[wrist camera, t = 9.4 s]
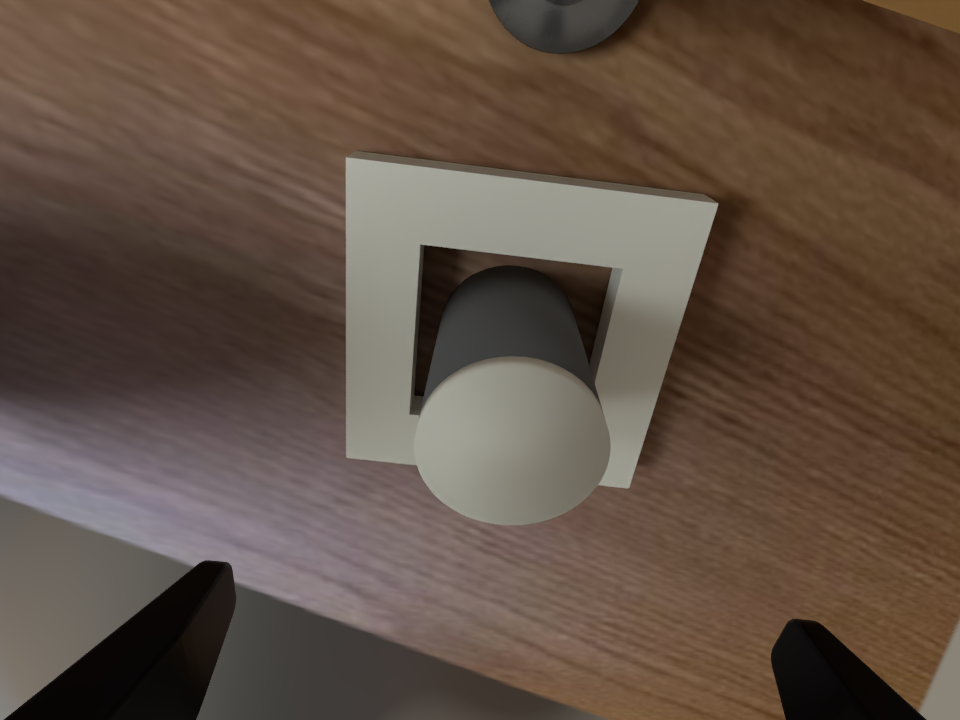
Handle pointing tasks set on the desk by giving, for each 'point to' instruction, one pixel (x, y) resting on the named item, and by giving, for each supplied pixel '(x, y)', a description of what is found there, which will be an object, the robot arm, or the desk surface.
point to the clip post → (562, 22)
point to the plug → (510, 403)
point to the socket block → (518, 232)
